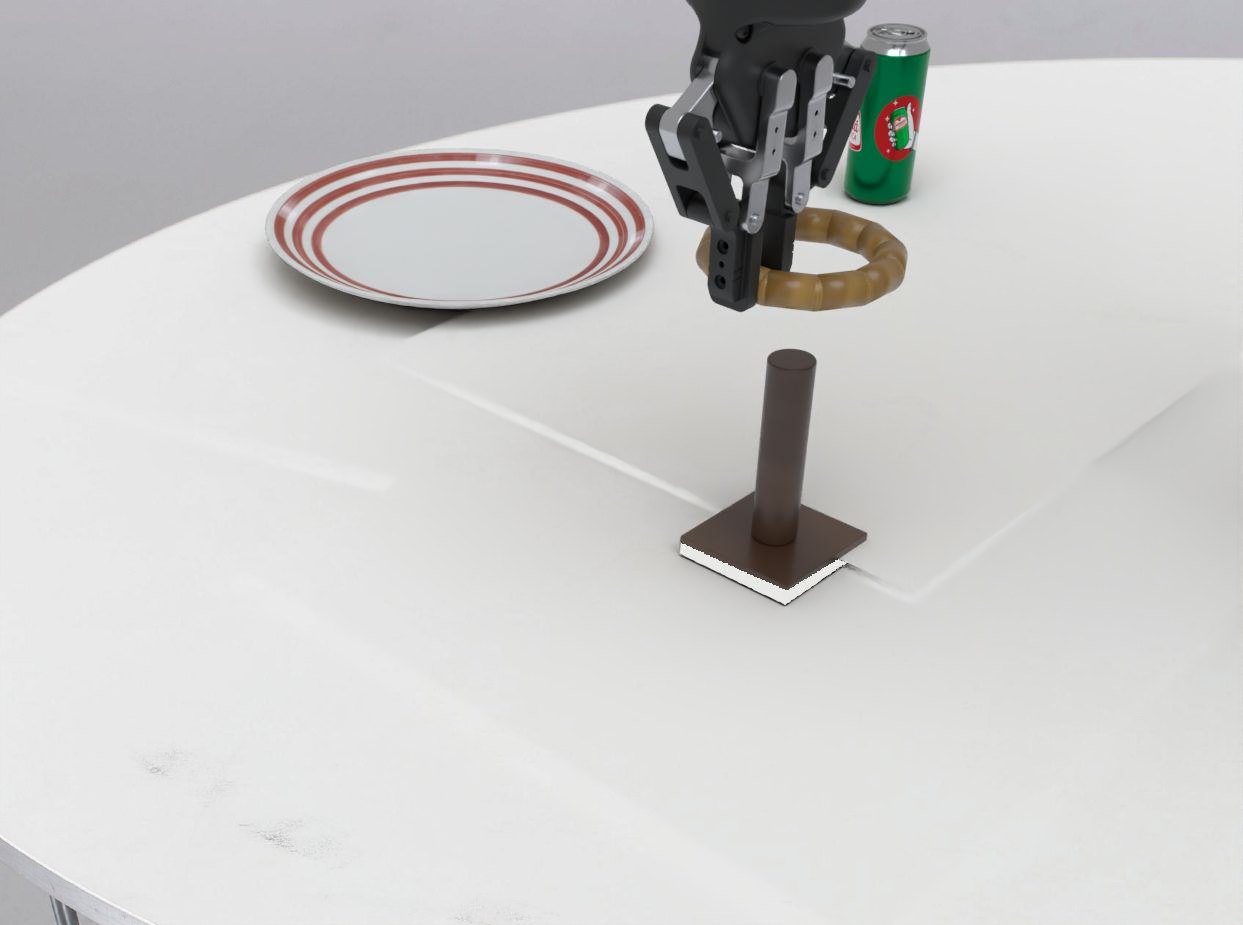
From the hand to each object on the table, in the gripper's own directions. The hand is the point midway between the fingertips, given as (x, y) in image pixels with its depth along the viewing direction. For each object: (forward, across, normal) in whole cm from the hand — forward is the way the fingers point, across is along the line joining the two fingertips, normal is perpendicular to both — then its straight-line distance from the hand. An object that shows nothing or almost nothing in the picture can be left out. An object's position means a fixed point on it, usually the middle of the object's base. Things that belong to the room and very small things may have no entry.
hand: (748, 295), depth 74 cm
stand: (+16, +4, 0) cm, 16 cm away
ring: (-1, +4, 0) cm, 4 cm away
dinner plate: (+16, +20, +40) cm, 47 cm away
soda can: (+16, +50, +25) cm, 58 cm away
